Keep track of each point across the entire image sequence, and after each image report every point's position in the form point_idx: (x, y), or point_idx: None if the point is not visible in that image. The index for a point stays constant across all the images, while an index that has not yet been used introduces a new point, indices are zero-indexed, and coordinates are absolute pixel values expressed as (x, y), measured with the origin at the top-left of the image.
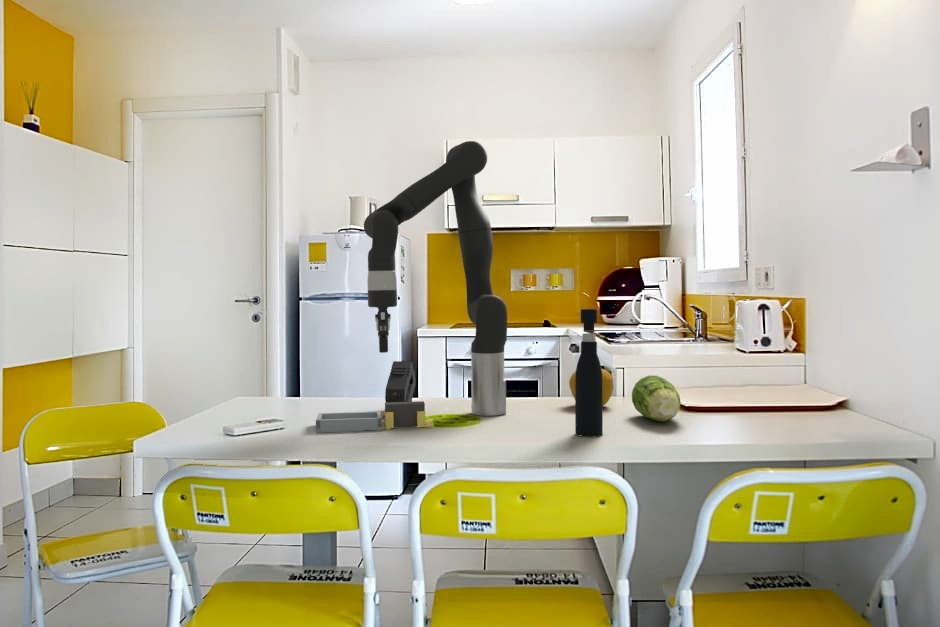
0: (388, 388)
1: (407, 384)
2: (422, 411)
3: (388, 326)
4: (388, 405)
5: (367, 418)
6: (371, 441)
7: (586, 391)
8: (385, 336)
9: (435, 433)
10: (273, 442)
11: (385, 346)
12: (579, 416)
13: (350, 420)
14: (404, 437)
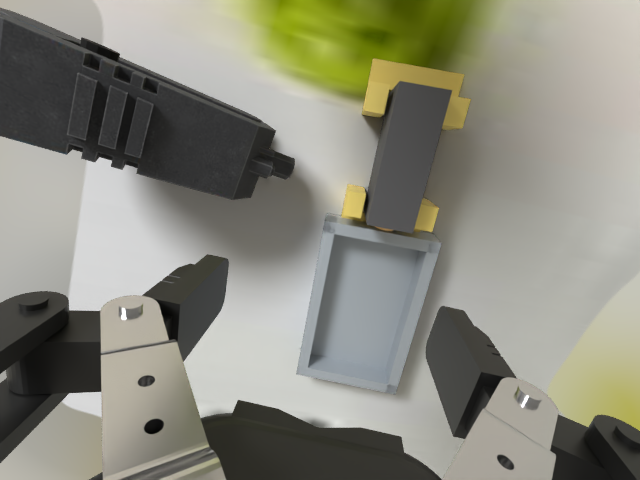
0: (232, 188)
1: (199, 99)
2: (457, 106)
3: (544, 475)
4: (415, 222)
5: (426, 279)
6: (554, 283)
7: None
8: (557, 420)
9: (549, 96)
10: (453, 453)
11: (491, 351)
12: None
13: (416, 319)
14: (553, 197)
